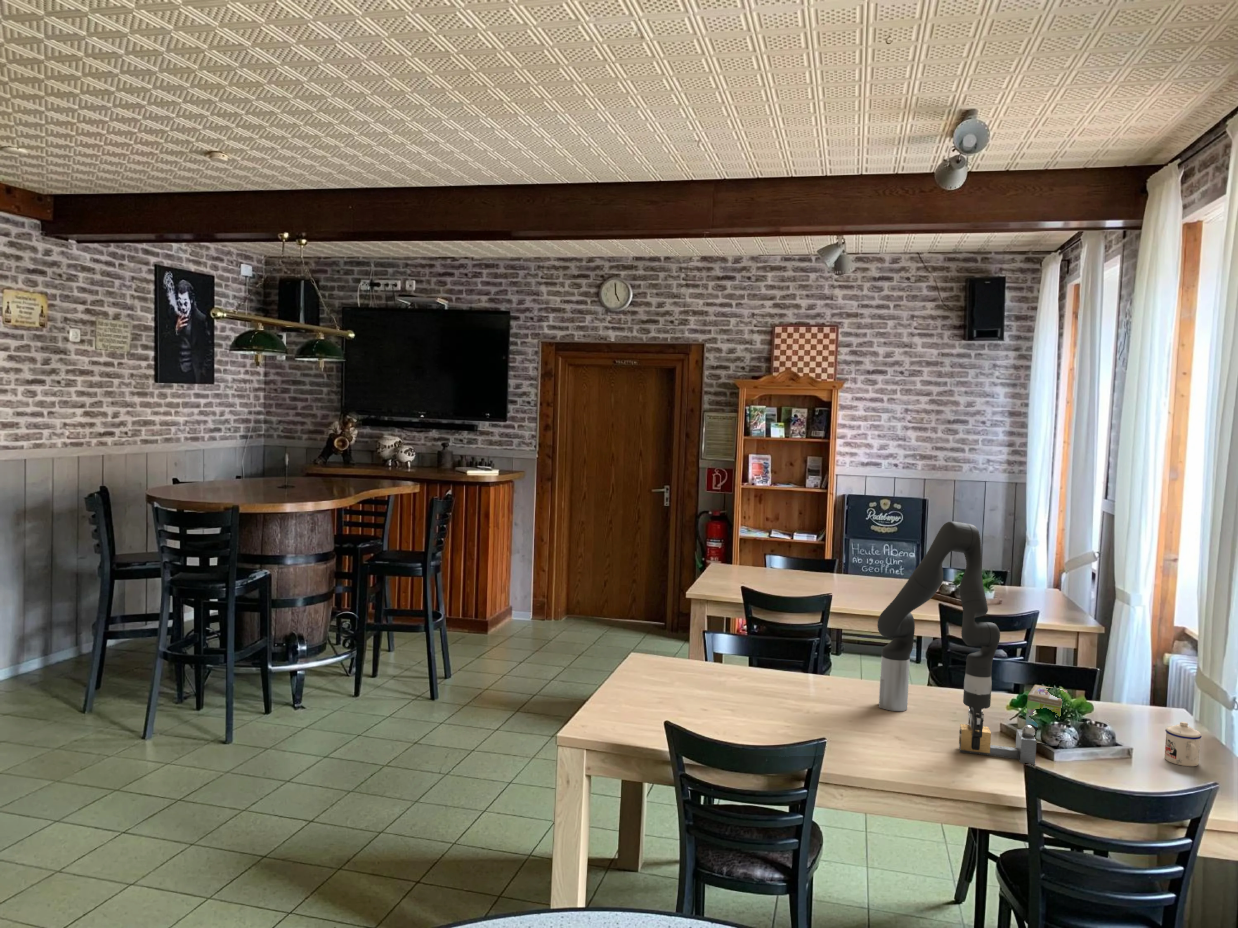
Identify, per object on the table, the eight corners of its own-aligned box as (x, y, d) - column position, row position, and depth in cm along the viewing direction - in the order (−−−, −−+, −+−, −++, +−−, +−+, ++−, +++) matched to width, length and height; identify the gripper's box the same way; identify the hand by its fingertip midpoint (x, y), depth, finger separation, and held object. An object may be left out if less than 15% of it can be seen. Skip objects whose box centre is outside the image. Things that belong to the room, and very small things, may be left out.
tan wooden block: (959, 749, 274) (960, 729, 274) (957, 743, 279) (959, 723, 279) (989, 753, 272) (991, 732, 271) (987, 746, 277) (988, 726, 277)
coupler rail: (961, 755, 272) (962, 722, 272) (958, 745, 281) (959, 713, 280) (1036, 764, 267) (1038, 730, 266) (1030, 754, 276) (1032, 721, 275)
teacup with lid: (1158, 754, 279) (1160, 716, 279) (1191, 757, 278) (1193, 718, 278) (1175, 769, 268) (1178, 729, 267) (1210, 772, 266) (1213, 731, 266)
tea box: (1059, 748, 282) (1062, 700, 281) (1023, 741, 287) (1026, 693, 286) (1065, 735, 294) (1068, 688, 294) (1030, 728, 300) (1033, 683, 299)
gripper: (961, 681, 282) (958, 736, 283) (966, 694, 269) (963, 752, 269) (988, 684, 281) (984, 739, 281) (994, 697, 267) (990, 755, 267)
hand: (974, 745), depth 275 cm, fingers closed on tan wooden block, 5 cm apart
